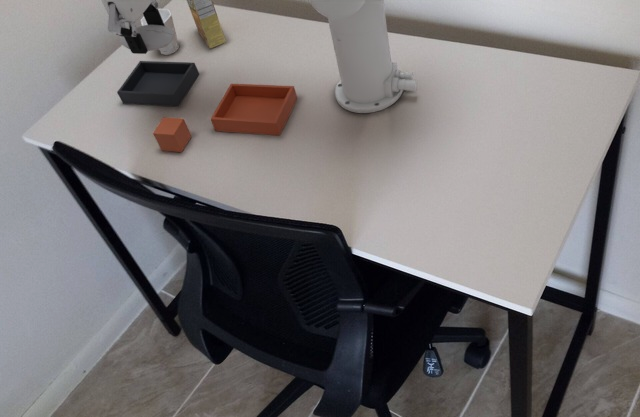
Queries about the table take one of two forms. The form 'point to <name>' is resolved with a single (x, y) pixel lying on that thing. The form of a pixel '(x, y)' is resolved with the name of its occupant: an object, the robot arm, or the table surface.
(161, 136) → the terracotta block
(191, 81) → the charcoal bin
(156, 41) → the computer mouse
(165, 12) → the cup
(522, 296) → the table surface
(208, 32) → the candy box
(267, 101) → the terracotta bin
